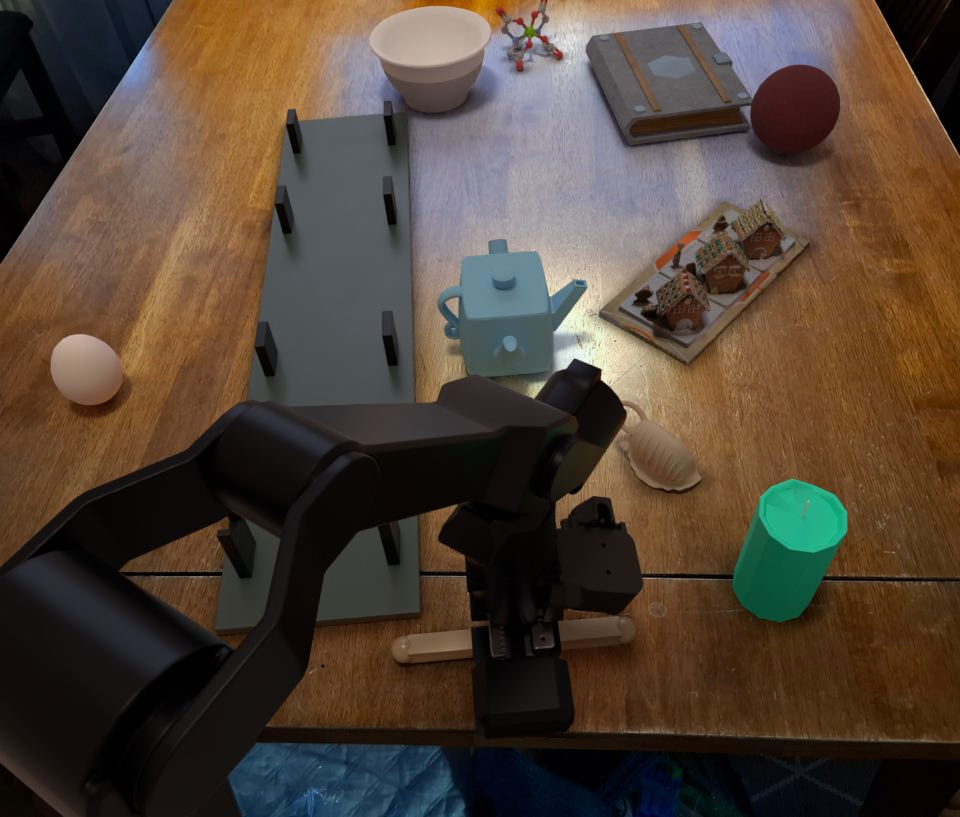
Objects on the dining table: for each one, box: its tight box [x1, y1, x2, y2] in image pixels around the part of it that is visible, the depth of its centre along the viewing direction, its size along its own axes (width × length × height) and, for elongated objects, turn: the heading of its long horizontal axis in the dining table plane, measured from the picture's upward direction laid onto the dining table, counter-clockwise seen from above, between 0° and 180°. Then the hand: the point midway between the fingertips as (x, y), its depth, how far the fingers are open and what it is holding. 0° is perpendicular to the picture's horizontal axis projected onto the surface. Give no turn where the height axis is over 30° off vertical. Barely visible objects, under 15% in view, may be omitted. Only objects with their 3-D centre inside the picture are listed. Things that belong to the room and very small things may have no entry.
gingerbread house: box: [598, 197, 812, 366], centre depth 87 cm, size 11×23×7 cm, turn 137°
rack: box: [214, 100, 422, 636], centre depth 87 cm, size 72×16×8 cm, turn 4°
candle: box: [732, 478, 848, 623], centre depth 62 cm, size 6×6×12 cm
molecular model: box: [495, 0, 564, 71], centre depth 119 cm, size 7×8×8 cm
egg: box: [50, 333, 124, 406], centre depth 81 cm, size 6×6×8 cm
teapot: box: [437, 238, 588, 378], centre depth 81 cm, size 18×14×10 cm
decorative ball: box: [749, 64, 841, 155], centre depth 100 cm, size 10×10×10 cm
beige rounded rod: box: [390, 615, 638, 664], centre depth 64 cm, size 2×19×2 cm, turn 94°
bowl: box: [368, 5, 493, 114], centre depth 113 cm, size 16×16×9 cm
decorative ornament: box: [620, 399, 703, 492], centre depth 73 cm, size 4×8×5 cm, turn 38°
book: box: [585, 22, 753, 146], centre depth 111 cm, size 21×16×5 cm
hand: (514, 645), depth 65 cm, fingers closed on beige rounded rod, 2 cm apart
